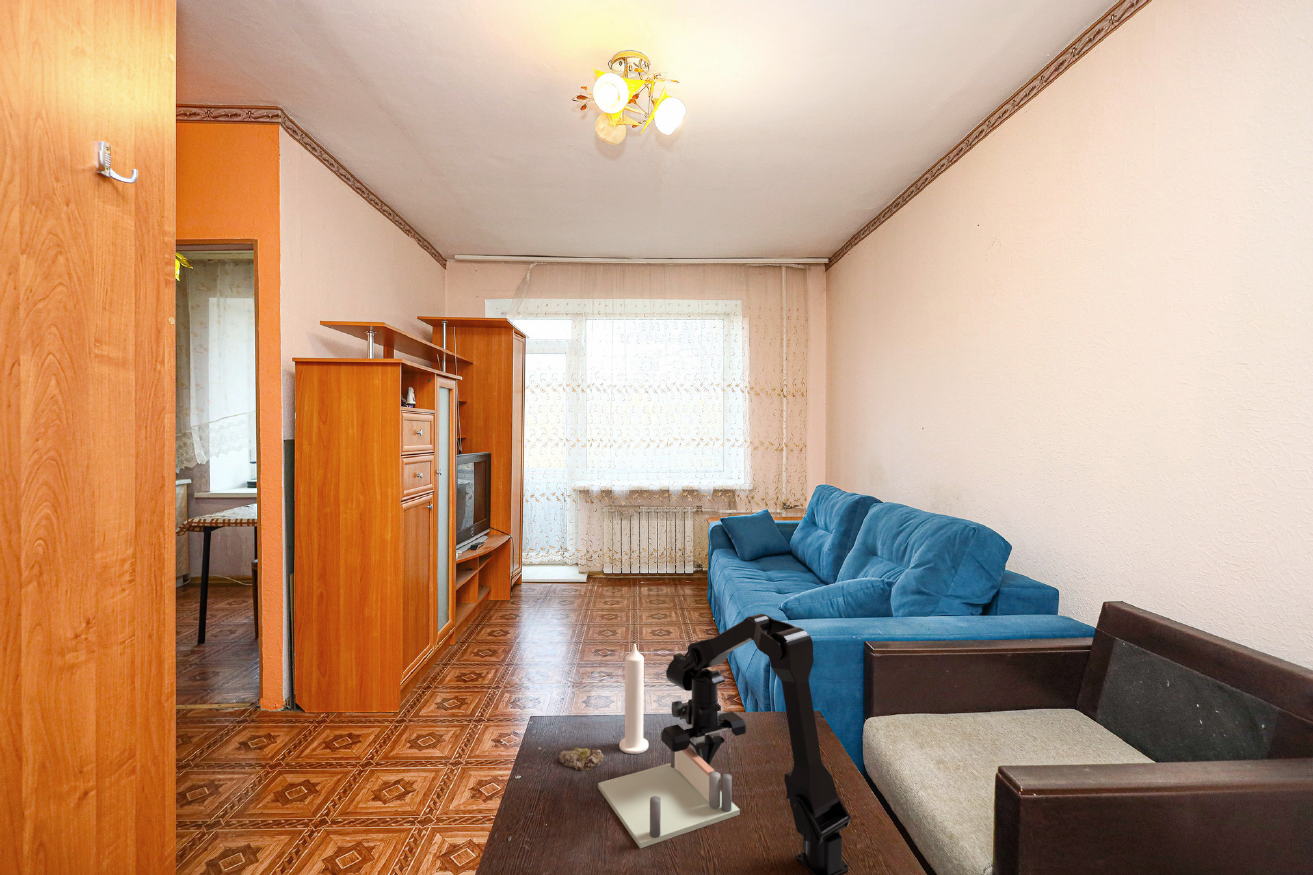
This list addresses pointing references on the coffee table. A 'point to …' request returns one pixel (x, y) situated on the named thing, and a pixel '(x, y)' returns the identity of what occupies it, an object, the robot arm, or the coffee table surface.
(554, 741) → the coffee table surface
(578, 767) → the mineral rock
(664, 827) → the gate base
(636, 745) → the candle
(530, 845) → the coffee table surface
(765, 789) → the coffee table surface
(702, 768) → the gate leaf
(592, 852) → the coffee table surface
